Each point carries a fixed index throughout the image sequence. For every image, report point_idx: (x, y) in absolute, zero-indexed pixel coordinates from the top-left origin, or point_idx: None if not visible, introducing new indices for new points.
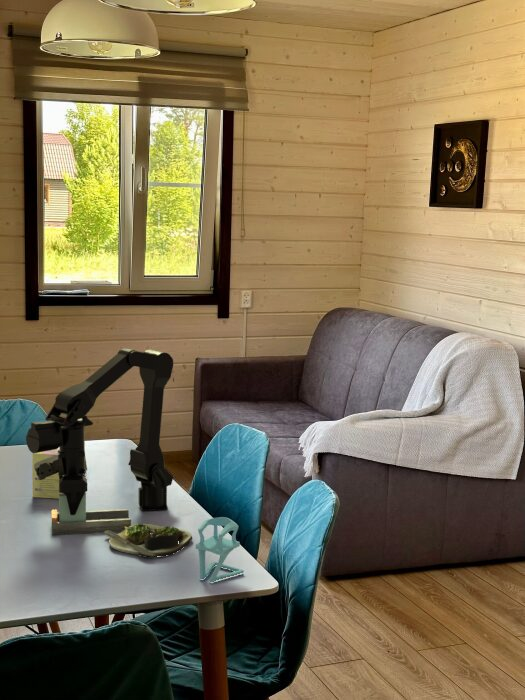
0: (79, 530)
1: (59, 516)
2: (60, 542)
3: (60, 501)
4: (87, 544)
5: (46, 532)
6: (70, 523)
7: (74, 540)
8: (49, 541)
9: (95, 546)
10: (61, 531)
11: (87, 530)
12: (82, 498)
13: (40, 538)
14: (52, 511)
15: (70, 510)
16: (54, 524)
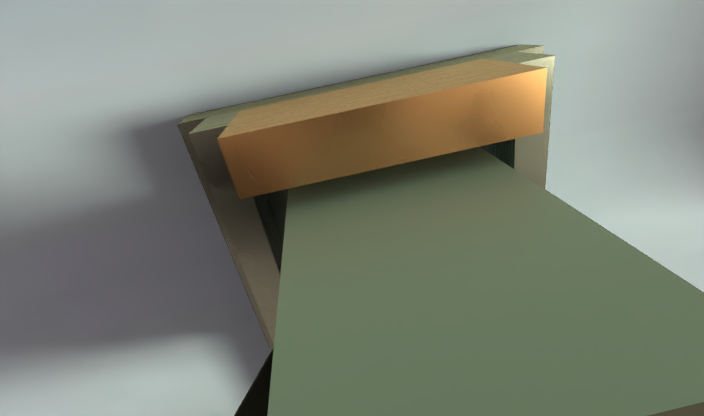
0: (256, 309)
1: (287, 214)
2: (42, 215)
3: (280, 384)
4: (75, 370)
5: (252, 47)
6: (253, 287)
7: (121, 292)
8: (27, 124)
9: (59, 409)
10: (211, 198)
11: (272, 346)
12: None
13: (74, 19)
14: (482, 90)
15: (258, 385)
16: (202, 156)
